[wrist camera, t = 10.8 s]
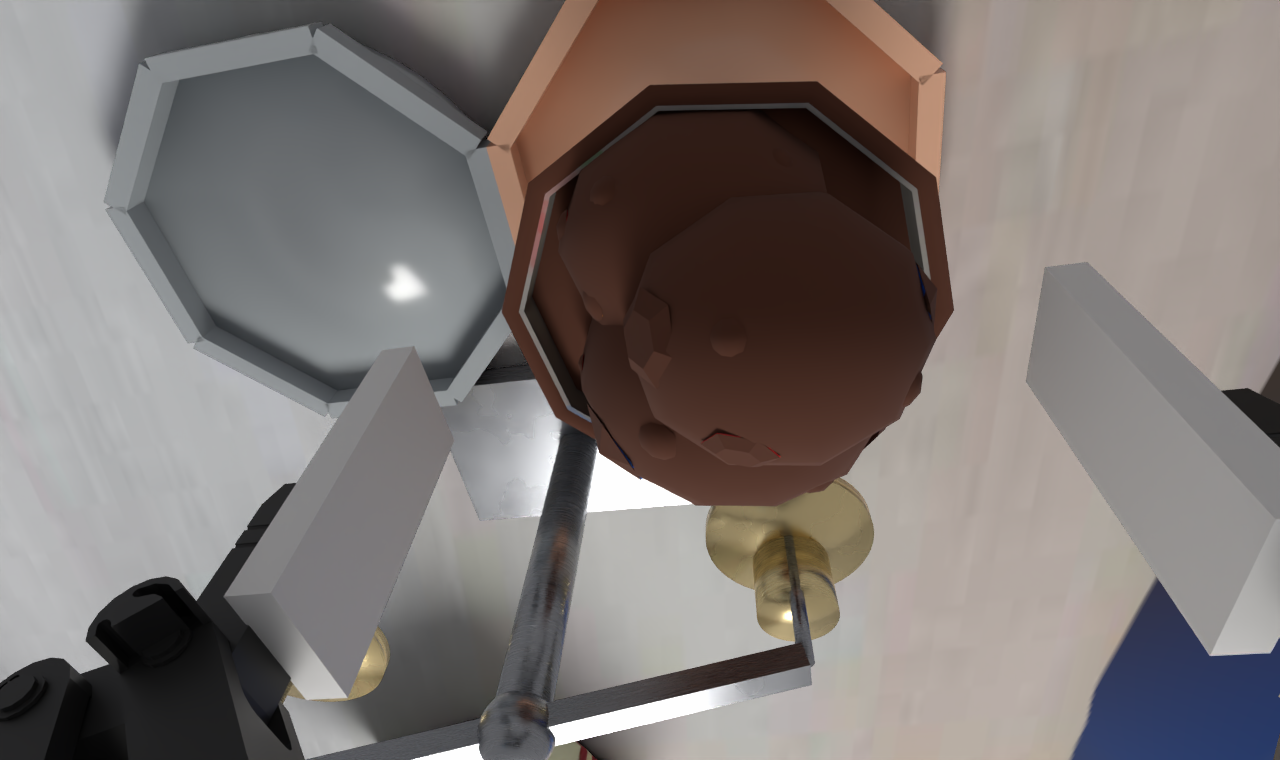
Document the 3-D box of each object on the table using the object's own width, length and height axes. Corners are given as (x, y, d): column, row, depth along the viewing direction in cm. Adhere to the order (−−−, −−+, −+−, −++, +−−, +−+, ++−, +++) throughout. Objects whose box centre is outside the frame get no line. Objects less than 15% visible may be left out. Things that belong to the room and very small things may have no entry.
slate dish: (65, 70, 25) (26, 81, 24) (459, -8, 23) (442, -1, 22) (259, 404, 34) (240, 428, 32) (564, 370, 31) (558, 394, 30)
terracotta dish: (459, -8, 23) (442, -1, 22) (938, -104, 21) (957, -104, 19) (564, 370, 31) (558, 394, 30) (916, 331, 29) (928, 354, 28)
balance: (317, 389, 33) (42, 745, 19) (836, 330, 29) (962, 716, 15) (381, 512, 37) (195, 875, 23) (840, 474, 34) (940, 875, 20)
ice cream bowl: (540, 29, 23) (370, 167, 10) (892, 20, 22) (1169, 154, 10) (568, 319, 29) (481, 634, 16) (848, 318, 28) (984, 644, 15)
